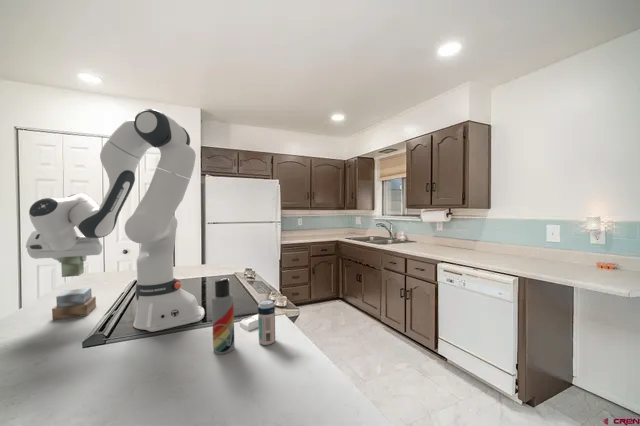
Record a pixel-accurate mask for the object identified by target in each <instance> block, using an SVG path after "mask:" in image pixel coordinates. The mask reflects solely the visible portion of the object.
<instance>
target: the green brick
mask: <svg viewBox="0 0 640 426" xmlns="http://www.w3.org/2000/svg"><path fill="white" fill-rule="evenodd" d="M84 262H85V261H81V260H80V256H73V257H61V264H60V265H61V278H66V277H67V278H68V277H79V276H81V275H82V274H84V273H85V269H84V268H85V267H84V265H85V264H84Z"/></svg>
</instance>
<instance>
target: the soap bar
mask: <svg viewBox="0 0 640 426" xmlns="http://www.w3.org/2000/svg"><path fill="white" fill-rule="evenodd" d="M239 327H240V328H241V329H244V330H246V331H247V332H249V331H251V330H254V329H256V328H258V313H257V314H254V315H252V316H248V317H246V318H243V319H242V320H241V321H240V322H239Z"/></svg>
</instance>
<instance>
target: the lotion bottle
mask: <svg viewBox="0 0 640 426" xmlns="http://www.w3.org/2000/svg"><path fill="white" fill-rule="evenodd" d="M230 290H231V289H230V279H229V278H222V279H219V280H214V295H213V296H212V297H211V317H212V321H211V322H212V347H213V348H212V349H213V353H215V354H217V355H223V354H225V355H226V354H228V353H230V352H232V351H233V350H234V349H235V317H234V316H235V313H234V309H235V308H234V295H233V294H232V293H231V291H230Z"/></svg>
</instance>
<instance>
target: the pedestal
mask: <svg viewBox="0 0 640 426" xmlns="http://www.w3.org/2000/svg"><path fill="white" fill-rule="evenodd" d="M55 298H56V299H55V300H56V306H54V307H53V308H52V309H51V313H52V314H51V316H52V317H51V318H52V320H53V321H54V320H61V319H62V320H63V319H69V318H76V317H77V318H78V317H84V316H88V315H89V314H90V313H91V312H92V311H93V310H94V309H95V308H96V307H97V298H96V296H93V295H92V287H87V288H86V287H85V288H76V289H68V290H64V291H63V292H61V293H59V294H58V295H57V296H56V297H55Z"/></svg>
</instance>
